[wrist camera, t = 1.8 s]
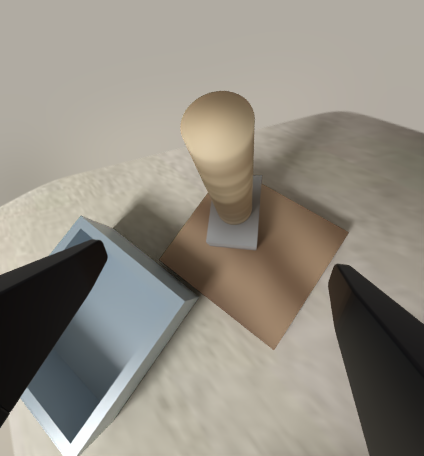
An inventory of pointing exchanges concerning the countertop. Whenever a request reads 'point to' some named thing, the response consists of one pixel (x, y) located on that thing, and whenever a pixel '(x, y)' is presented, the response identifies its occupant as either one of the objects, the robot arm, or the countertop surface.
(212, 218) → the rubber stamp
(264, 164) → the countertop surface
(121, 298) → the box
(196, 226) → the far plate
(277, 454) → the countertop surface
